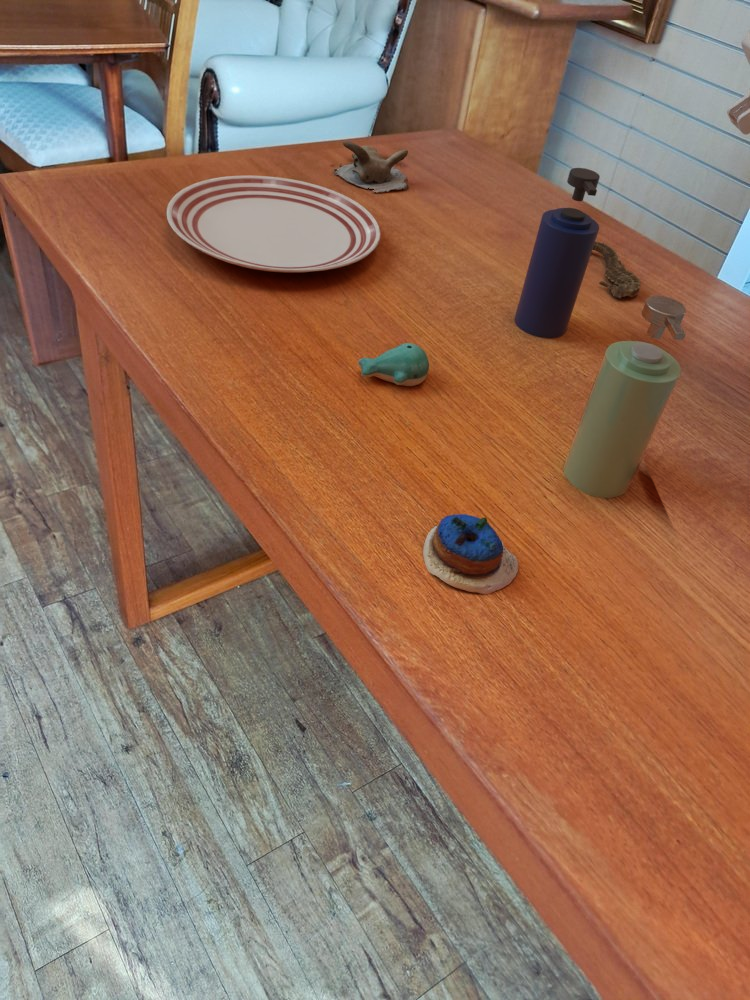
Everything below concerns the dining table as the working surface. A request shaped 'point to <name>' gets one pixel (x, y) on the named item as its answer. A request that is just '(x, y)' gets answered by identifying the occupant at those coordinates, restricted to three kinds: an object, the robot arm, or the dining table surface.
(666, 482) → the dining table surface
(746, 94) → the robot arm
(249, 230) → the dinner plate
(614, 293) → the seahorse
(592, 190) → the black dispenser pump head
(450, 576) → the dessert
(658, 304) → the grey round-capped part
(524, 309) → the bottle navy
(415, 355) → the whale figurine
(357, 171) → the skull
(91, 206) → the dining table surface
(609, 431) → the bottle green
